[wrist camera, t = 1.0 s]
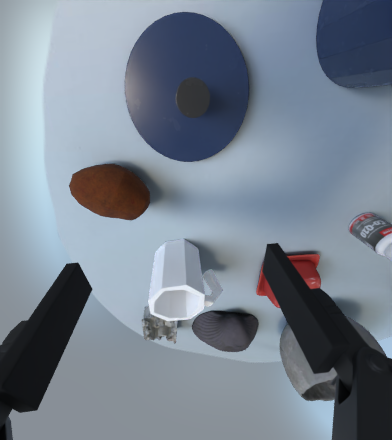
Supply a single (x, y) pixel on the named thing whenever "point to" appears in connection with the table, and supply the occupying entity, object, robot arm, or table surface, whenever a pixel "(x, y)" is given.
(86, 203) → the potato
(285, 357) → the bowl
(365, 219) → the pill bottle
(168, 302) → the mug
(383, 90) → the table surface
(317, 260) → the butter dish
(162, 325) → the egg carton
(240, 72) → the lid
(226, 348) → the seashell
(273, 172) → the table surface
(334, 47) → the pot
